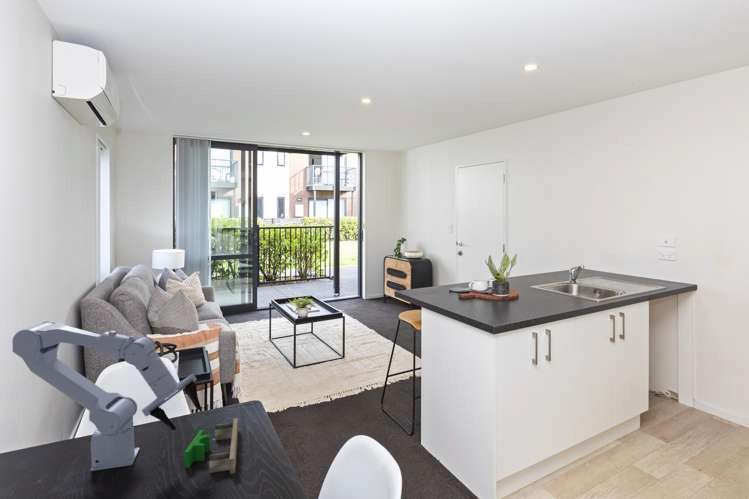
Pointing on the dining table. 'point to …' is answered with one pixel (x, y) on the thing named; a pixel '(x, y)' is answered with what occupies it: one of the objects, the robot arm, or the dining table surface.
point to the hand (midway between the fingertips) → (187, 419)
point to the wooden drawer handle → (228, 458)
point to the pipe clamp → (197, 448)
